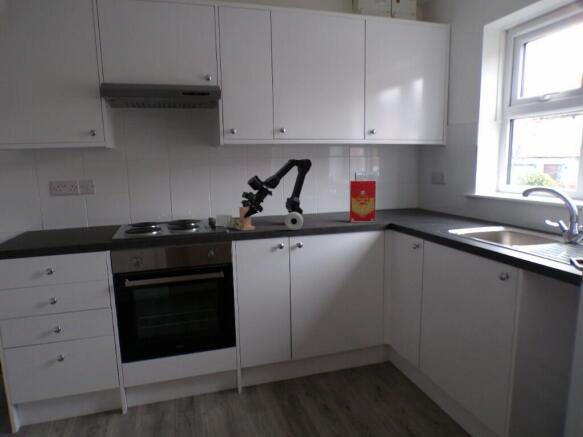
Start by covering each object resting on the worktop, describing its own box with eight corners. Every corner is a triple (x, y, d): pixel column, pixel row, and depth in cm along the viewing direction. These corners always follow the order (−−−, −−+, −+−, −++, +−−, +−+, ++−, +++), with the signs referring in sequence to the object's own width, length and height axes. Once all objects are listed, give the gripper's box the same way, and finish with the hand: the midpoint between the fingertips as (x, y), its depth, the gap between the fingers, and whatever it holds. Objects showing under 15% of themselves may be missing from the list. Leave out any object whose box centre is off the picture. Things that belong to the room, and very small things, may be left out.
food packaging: (350, 222, 226) (350, 181, 222) (349, 221, 231) (350, 180, 227) (374, 222, 225) (375, 181, 221) (373, 221, 230) (374, 180, 226)
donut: (303, 229, 202) (303, 211, 200) (303, 230, 198) (303, 212, 197) (284, 229, 201) (284, 211, 200) (284, 230, 198) (284, 212, 197)
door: (229, 227, 209) (228, 218, 208) (232, 227, 210) (232, 218, 210) (239, 230, 199) (238, 221, 198) (242, 230, 200) (242, 220, 200)
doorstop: (248, 227, 211) (247, 206, 209) (254, 229, 205) (254, 207, 203) (236, 228, 207) (235, 207, 205) (242, 230, 201) (242, 208, 199)
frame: (216, 226, 213) (215, 214, 212) (218, 226, 215) (218, 214, 214) (231, 227, 210) (230, 215, 209) (233, 226, 212) (232, 214, 211)
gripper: (243, 185, 212) (226, 206, 208) (257, 187, 196) (238, 209, 192) (256, 198, 217) (239, 218, 213) (271, 201, 201) (252, 223, 197)
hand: (242, 217), depth 204 cm, fingers open, 6 cm apart
